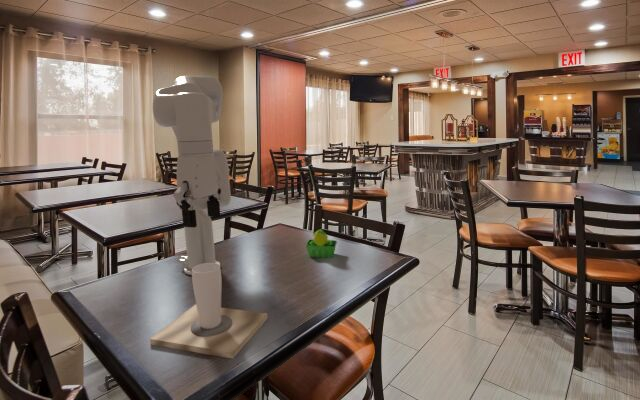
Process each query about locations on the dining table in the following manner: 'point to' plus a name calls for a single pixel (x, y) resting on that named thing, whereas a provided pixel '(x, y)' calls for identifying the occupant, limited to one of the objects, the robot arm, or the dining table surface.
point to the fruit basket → (321, 245)
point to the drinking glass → (207, 294)
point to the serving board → (211, 332)
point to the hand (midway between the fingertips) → (202, 221)
